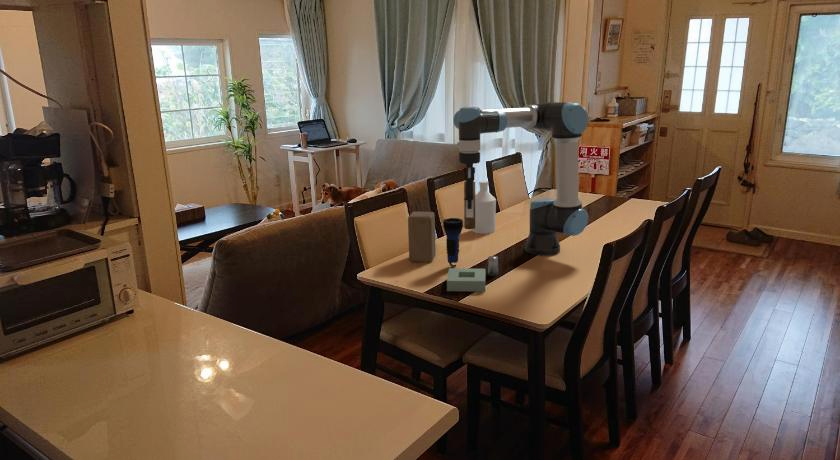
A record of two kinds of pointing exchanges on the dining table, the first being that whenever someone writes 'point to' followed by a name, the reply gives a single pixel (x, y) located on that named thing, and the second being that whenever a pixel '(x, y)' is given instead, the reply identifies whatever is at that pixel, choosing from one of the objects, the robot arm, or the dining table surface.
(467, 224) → the long pin
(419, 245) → the wooden block
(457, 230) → the flashlight
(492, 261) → the short pin
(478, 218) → the bottle
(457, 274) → the collar block
